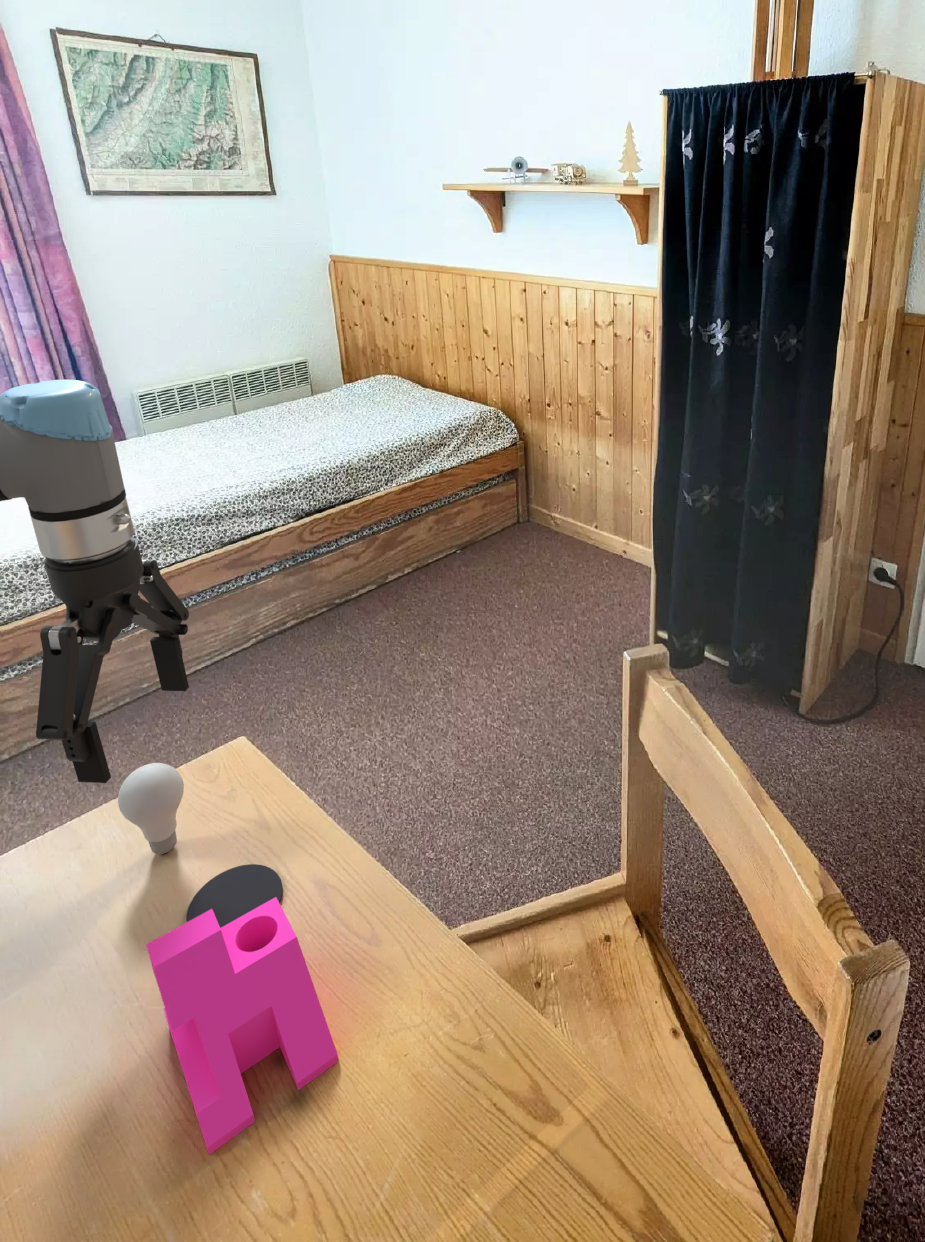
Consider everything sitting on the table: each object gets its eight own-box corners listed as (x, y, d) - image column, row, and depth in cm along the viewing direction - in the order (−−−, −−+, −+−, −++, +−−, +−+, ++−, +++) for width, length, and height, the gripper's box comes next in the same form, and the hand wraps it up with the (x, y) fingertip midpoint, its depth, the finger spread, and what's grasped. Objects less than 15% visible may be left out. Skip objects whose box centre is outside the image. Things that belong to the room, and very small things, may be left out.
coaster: (168, 942, 75) (167, 939, 74) (215, 864, 83) (215, 861, 83) (258, 948, 74) (257, 945, 74) (297, 869, 82) (296, 866, 82)
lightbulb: (208, 839, 86) (191, 760, 82) (159, 881, 81) (138, 800, 77) (170, 820, 89) (152, 743, 85) (121, 861, 83) (98, 781, 80)
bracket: (169, 1028, 67) (146, 944, 64) (287, 956, 73) (272, 875, 70) (208, 1154, 59) (184, 1065, 55) (338, 1060, 65) (324, 975, 61)
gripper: (30, 620, 60) (93, 829, 67) (200, 494, 83) (233, 659, 91) (-61, 618, 60) (11, 825, 68) (133, 492, 84) (171, 657, 91)
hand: (138, 730), depth 79 cm, fingers open, 13 cm apart
